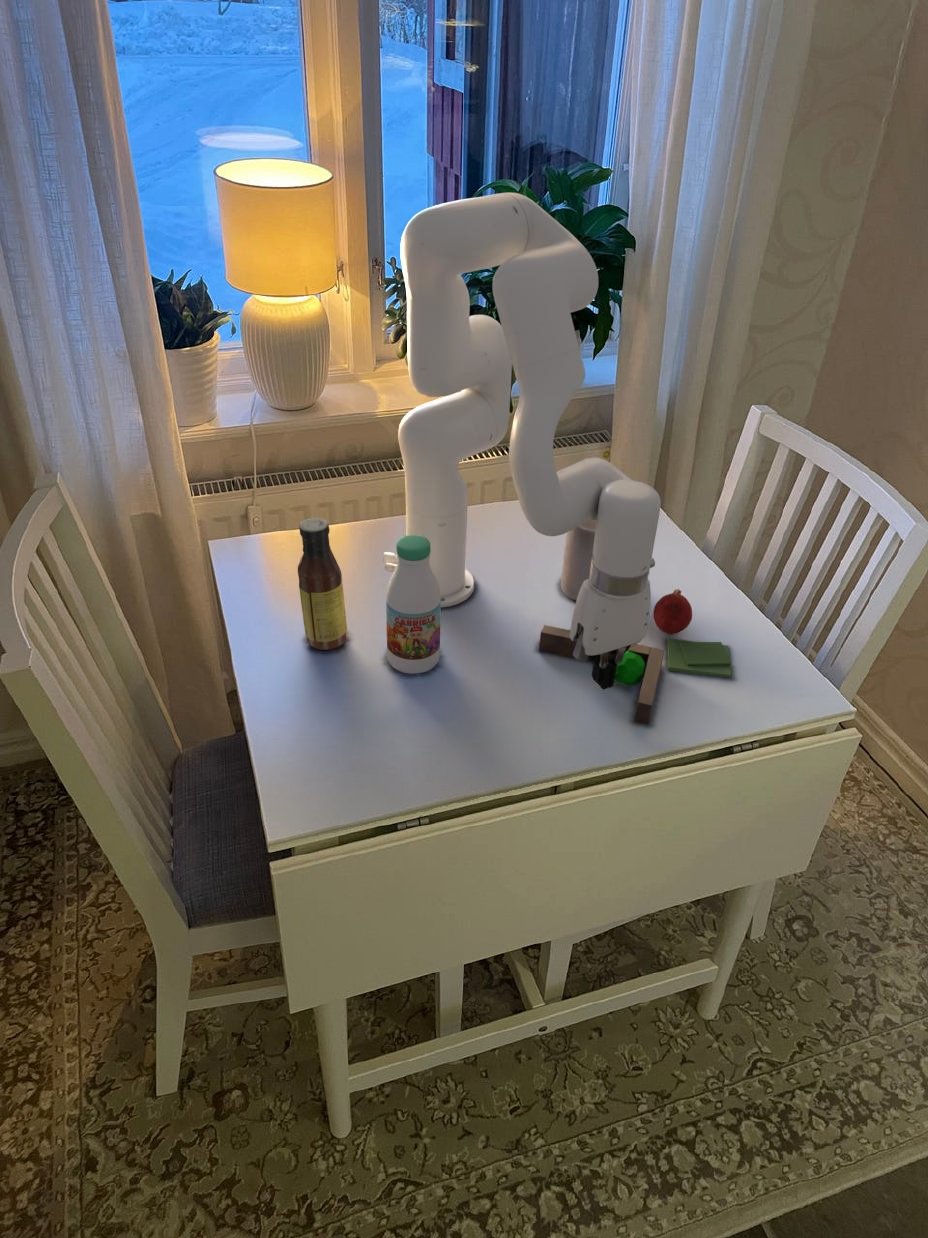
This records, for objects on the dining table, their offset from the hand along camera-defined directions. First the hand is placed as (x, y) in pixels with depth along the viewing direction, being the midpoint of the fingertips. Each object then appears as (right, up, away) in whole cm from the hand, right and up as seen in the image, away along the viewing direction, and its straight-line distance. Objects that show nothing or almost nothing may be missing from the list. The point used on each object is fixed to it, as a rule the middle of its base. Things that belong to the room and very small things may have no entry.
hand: (602, 682), depth 132 cm
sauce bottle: (-40, +6, +8) cm, 42 cm away
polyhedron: (+4, 0, +2) cm, 4 cm away
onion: (+12, +7, +12) cm, 18 cm away
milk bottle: (-27, +3, +5) cm, 28 cm away
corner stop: (-1, 0, +2) cm, 2 cm away
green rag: (+15, +3, +7) cm, 17 cm away
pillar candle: (+1, +14, +21) cm, 26 cm away
